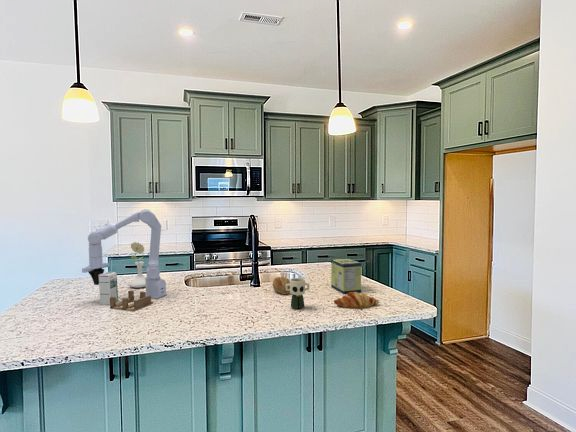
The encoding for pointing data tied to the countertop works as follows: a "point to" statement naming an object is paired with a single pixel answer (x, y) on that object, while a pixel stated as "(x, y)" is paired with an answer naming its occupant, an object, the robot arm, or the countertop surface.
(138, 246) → the flower in vase
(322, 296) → the countertop surface
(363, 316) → the countertop surface
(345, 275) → the protein box
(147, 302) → the rest
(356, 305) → the croissant
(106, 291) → the syrup box
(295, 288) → the character mug
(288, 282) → the bread roll
